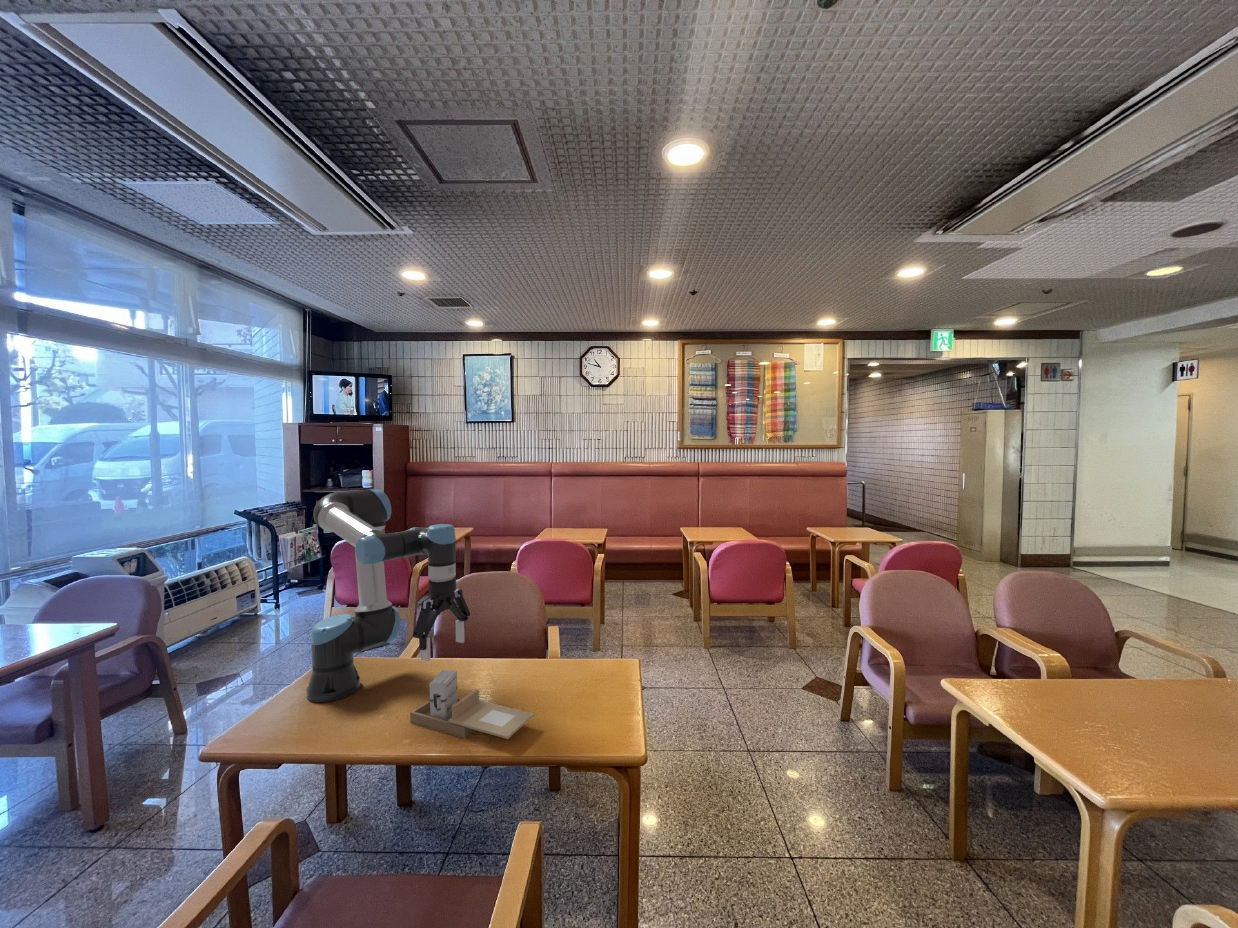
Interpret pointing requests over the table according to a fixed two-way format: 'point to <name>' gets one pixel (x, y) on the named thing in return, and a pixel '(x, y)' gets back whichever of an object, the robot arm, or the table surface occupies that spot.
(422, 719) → the mailer
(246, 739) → the table surface
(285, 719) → the table surface
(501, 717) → the lid
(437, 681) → the ink box
